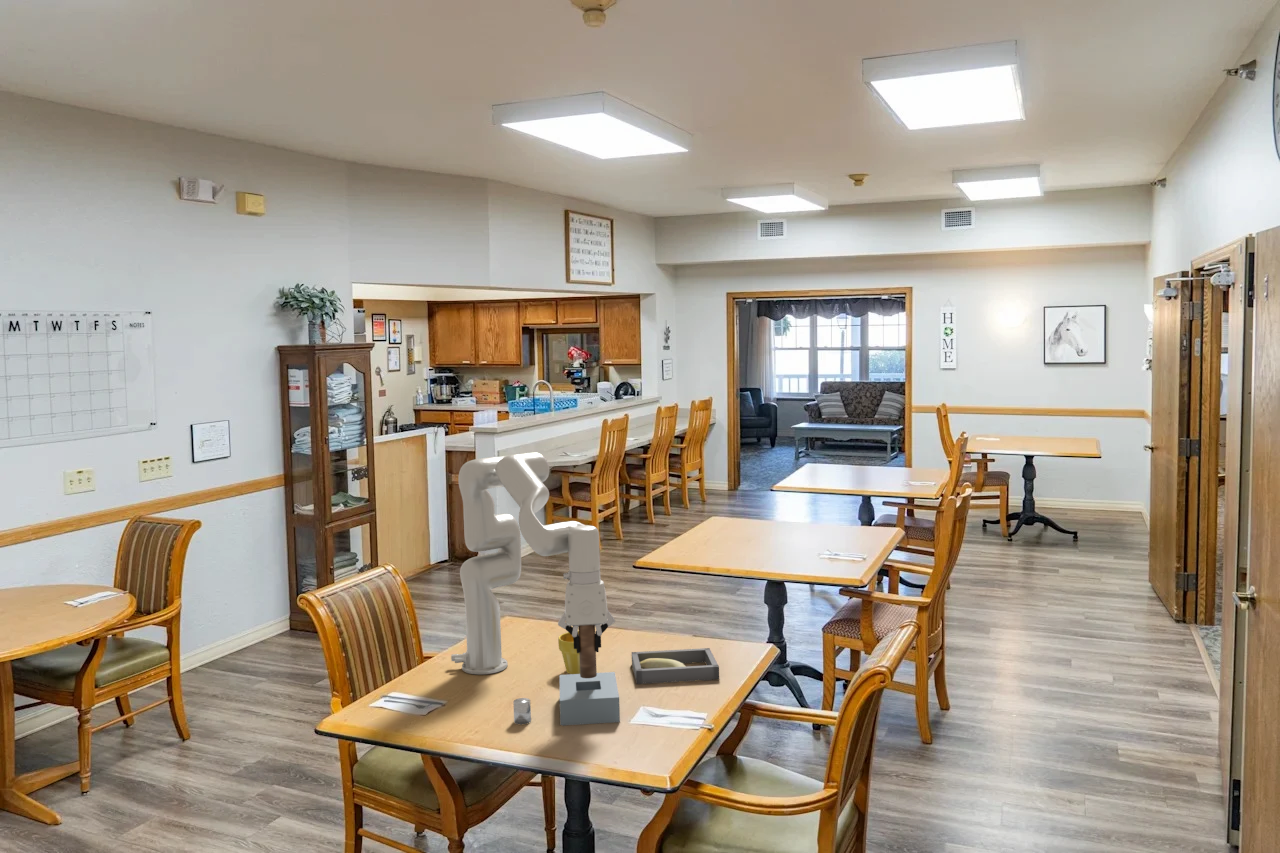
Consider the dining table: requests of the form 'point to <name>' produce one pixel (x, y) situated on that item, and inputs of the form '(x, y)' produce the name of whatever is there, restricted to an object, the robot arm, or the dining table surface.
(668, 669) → the tray
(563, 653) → the plant pot
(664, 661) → the fruit
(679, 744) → the dining table surface
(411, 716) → the dining table surface
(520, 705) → the short steel pin
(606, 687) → the hole block
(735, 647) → the dining table surface
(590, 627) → the long walnut pin
